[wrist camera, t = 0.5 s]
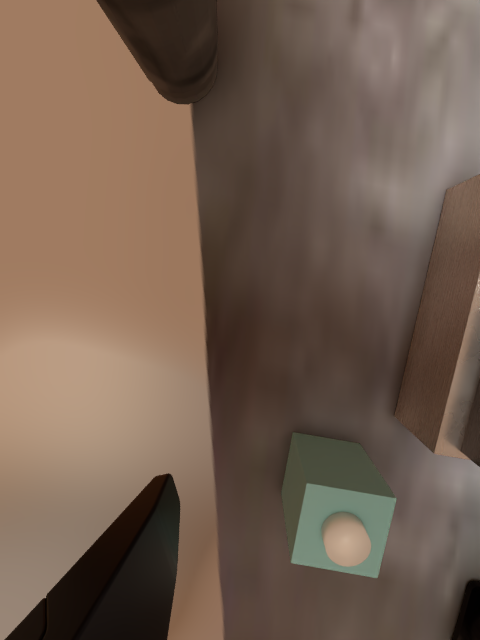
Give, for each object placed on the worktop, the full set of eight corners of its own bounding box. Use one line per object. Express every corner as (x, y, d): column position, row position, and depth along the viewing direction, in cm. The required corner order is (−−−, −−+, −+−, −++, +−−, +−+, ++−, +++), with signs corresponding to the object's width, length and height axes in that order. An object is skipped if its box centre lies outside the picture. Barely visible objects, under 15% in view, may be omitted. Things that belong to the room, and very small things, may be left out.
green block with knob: (345, 504, 24) (384, 595, 17) (280, 493, 24) (293, 579, 17) (359, 443, 23) (405, 511, 16) (292, 431, 23) (310, 495, 16)
